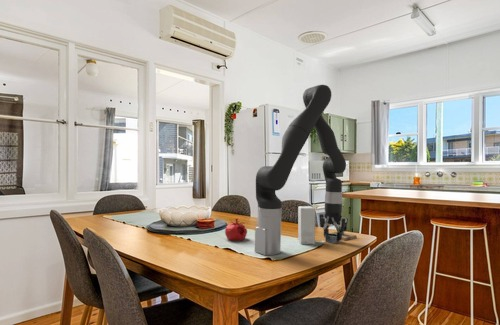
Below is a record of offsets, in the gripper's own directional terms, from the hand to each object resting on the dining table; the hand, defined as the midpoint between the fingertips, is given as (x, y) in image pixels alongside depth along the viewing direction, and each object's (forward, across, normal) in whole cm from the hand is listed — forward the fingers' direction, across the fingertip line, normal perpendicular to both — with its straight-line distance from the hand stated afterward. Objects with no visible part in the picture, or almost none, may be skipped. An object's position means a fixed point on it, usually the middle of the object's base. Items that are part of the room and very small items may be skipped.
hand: (332, 238), depth 138 cm
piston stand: (+1, -3, +11) cm, 11 cm away
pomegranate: (+1, -27, -34) cm, 43 cm away
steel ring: (+1, 0, 0) cm, 1 cm away
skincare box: (+1, -6, -11) cm, 13 cm away
